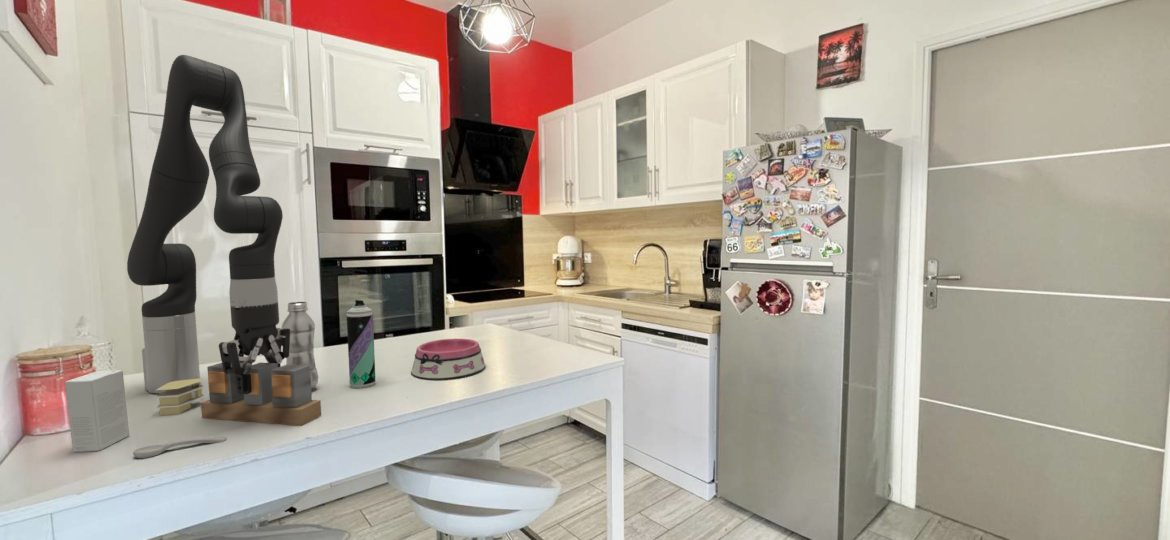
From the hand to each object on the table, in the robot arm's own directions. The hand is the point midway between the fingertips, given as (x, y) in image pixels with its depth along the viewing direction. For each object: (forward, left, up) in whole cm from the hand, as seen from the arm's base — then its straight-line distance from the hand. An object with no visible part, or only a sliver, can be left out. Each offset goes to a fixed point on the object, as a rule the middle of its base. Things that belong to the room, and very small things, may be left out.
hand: (260, 387), depth 93 cm
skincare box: (-17, -15, -6) cm, 23 cm away
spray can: (+7, +21, -6) cm, 23 cm away
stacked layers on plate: (-20, +1, -6) cm, 21 cm away
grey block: (0, 0, -3) cm, 3 cm away
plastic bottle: (-4, +15, -6) cm, 17 cm away
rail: (0, 0, -6) cm, 6 cm away
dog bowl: (+21, +36, -6) cm, 42 cm away
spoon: (-2, -14, -6) cm, 15 cm away
